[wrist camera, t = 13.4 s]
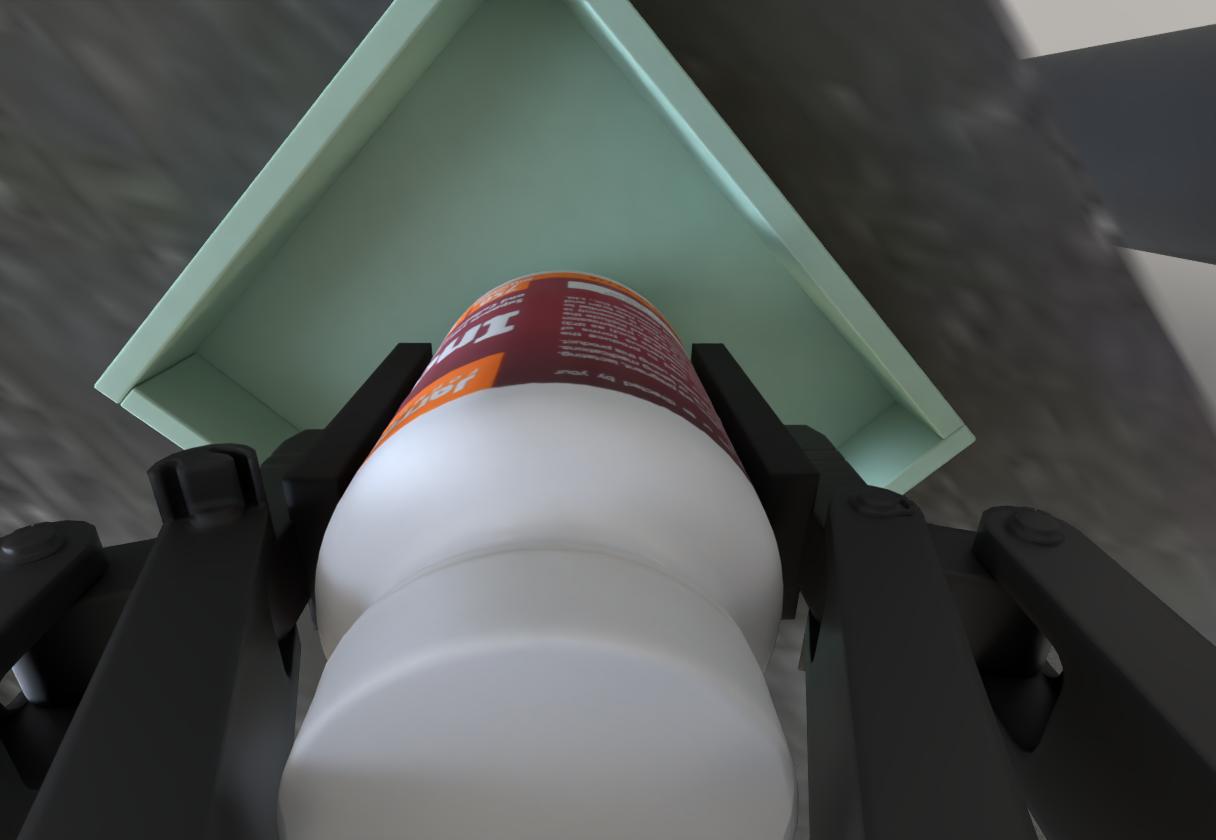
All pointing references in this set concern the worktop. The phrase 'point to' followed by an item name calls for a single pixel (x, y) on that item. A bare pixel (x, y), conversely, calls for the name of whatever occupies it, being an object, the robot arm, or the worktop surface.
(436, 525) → the pill bottle
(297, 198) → the tray
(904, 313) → the worktop surface
